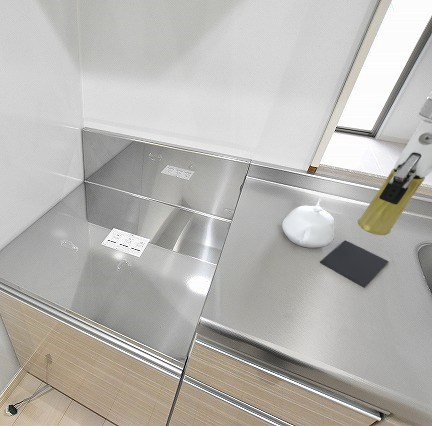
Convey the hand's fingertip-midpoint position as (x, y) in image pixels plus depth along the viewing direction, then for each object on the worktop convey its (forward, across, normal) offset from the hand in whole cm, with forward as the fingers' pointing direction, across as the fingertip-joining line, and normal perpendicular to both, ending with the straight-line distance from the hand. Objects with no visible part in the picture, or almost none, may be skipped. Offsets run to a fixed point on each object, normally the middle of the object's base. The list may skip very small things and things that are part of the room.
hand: (394, 195), depth 63 cm
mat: (+20, 0, -1) cm, 20 cm away
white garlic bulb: (+20, 0, +12) cm, 23 cm away
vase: (+9, 0, 0) cm, 9 cm away
